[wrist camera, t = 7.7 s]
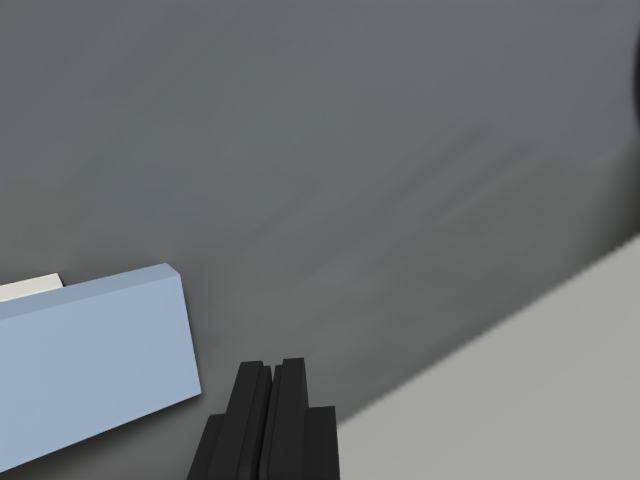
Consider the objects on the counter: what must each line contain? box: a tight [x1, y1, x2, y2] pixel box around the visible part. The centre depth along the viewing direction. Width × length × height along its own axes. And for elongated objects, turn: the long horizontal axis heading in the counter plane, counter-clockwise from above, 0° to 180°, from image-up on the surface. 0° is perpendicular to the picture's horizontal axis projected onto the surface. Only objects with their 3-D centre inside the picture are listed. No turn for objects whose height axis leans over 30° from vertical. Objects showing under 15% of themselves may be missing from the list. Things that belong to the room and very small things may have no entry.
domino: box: [0, 263, 201, 472], centre depth 16 cm, size 2×5×10 cm
